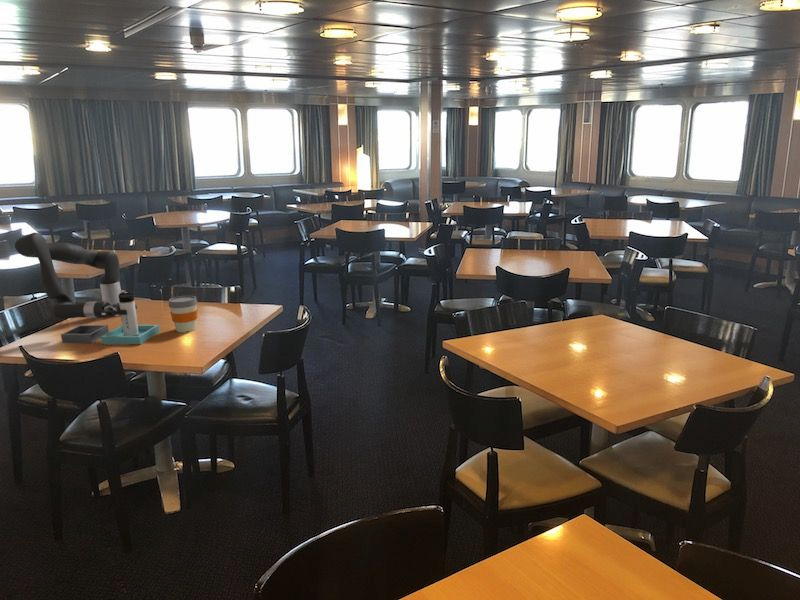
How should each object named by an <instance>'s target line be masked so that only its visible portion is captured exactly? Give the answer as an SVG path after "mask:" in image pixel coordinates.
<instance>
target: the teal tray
mask: <svg viewBox="0 0 800 600" xmlns="http://www.w3.org/2000/svg"><path fill="white" fill-rule="evenodd" d="M138 332H139V336H124V333H123V326H122V325H120V326H118V327H116V328H114V329H113V330H111V331H109V333H107V334H105V335H103V336H102V337H101V338H100V340H101V341H100V342H101V345H102V344H104V346H105V345H107V344H108V345H109V346H110V344H112V346H113V345H116V346H118V345H119V346H120V345H123V346H124V345H126V344H127V345H126V346H128V344H141V345H142V344H144V343H145V341H146V340H147V341H149V340H150V339H152V338H154V337H155V336H157V335H158V334H159V333H161V331H160V324H138ZM157 333H158V334H157ZM154 335H155V336H154ZM151 337H152V338H151ZM148 339H149V340H148ZM147 341H146V342H147ZM143 342H144V343H143Z"/></svg>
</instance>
